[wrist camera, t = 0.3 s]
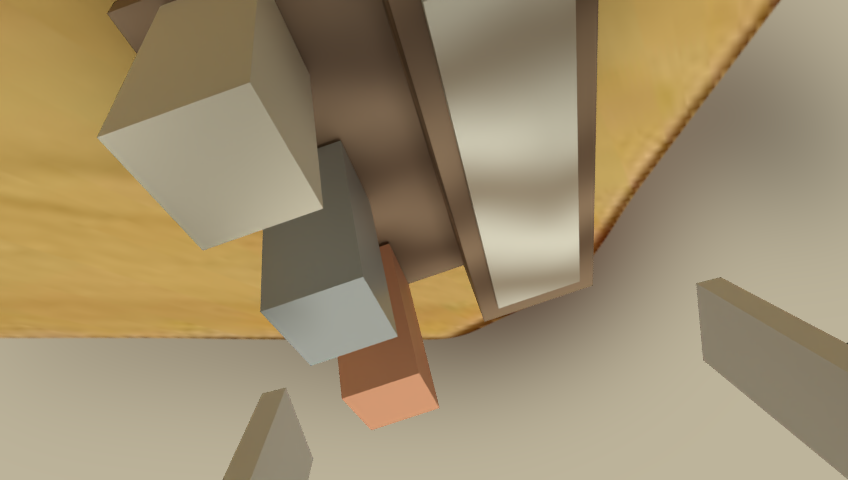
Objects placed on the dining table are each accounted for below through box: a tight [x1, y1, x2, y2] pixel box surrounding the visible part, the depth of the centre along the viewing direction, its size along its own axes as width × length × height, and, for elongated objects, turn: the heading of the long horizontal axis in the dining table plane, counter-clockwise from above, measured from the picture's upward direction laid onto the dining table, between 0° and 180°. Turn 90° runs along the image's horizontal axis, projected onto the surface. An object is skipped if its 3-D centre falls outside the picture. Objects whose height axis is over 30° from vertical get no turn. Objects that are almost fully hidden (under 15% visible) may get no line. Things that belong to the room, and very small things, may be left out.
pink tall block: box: [338, 244, 439, 430], centre depth 28 cm, size 4×4×9 cm
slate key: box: [260, 140, 398, 366], centre depth 22 cm, size 4×4×9 cm
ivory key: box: [97, 0, 323, 250], centre depth 16 cm, size 4×4×9 cm
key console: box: [107, 0, 598, 321], centre depth 24 cm, size 21×17×6 cm
